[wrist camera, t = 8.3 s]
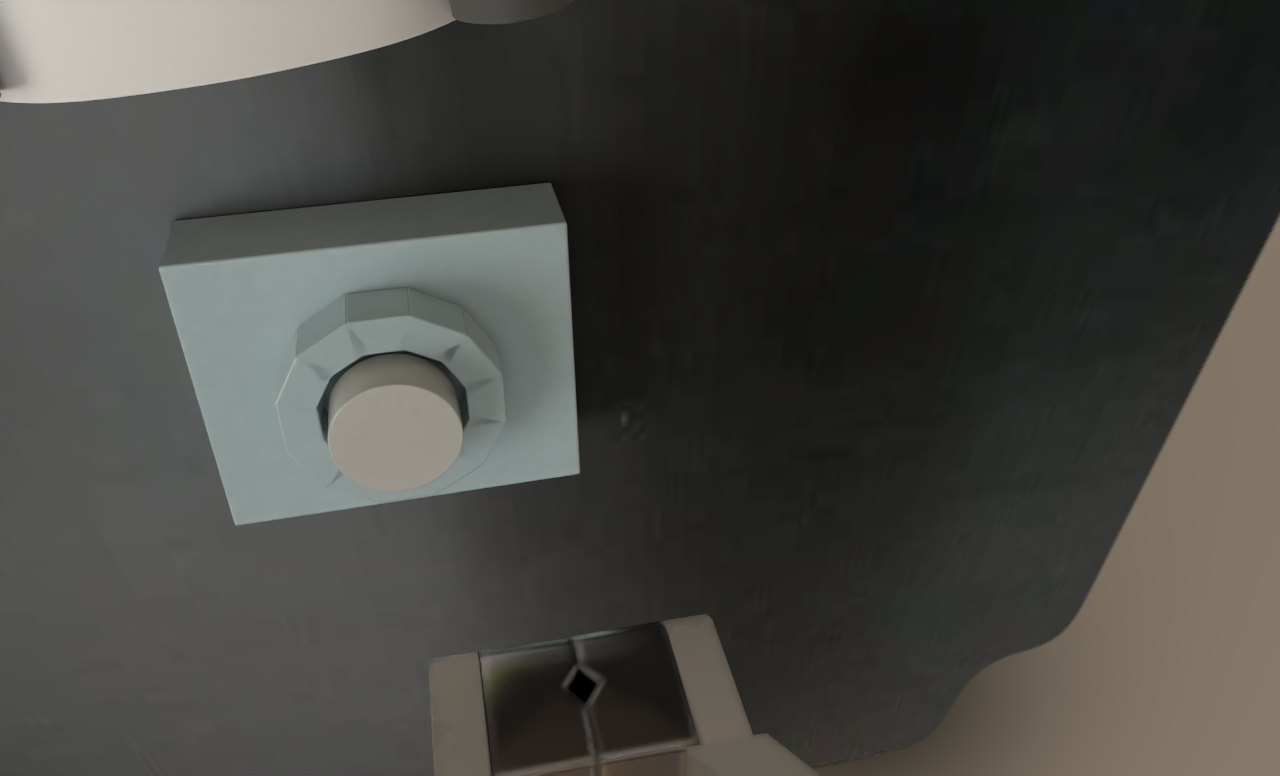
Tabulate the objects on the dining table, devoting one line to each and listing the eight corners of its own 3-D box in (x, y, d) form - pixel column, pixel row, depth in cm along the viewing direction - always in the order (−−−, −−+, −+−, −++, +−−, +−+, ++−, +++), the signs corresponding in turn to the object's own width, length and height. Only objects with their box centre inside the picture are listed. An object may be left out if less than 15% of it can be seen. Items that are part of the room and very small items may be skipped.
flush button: (451, 345, 33) (456, 376, 32) (464, 448, 35) (469, 481, 34) (317, 362, 32) (316, 394, 31) (339, 466, 35) (339, 501, 33)
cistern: (551, 181, 36) (577, 248, 32) (565, 423, 41) (590, 506, 37) (171, 219, 34) (148, 297, 30) (241, 469, 39) (230, 563, 35)
